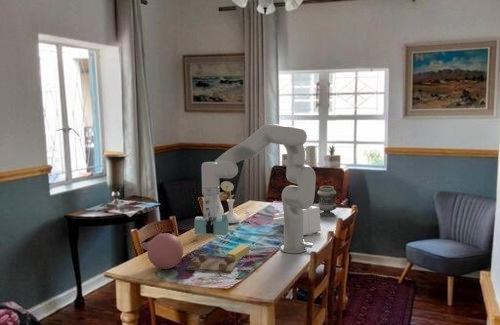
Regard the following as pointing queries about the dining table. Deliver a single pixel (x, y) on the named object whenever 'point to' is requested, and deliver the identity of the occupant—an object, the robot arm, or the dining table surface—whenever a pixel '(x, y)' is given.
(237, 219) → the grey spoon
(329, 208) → the apothecary jar
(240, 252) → the tan wooden bar
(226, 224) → the teal notched block
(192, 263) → the jig
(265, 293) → the dining table surface
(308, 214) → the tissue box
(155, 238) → the balloon
